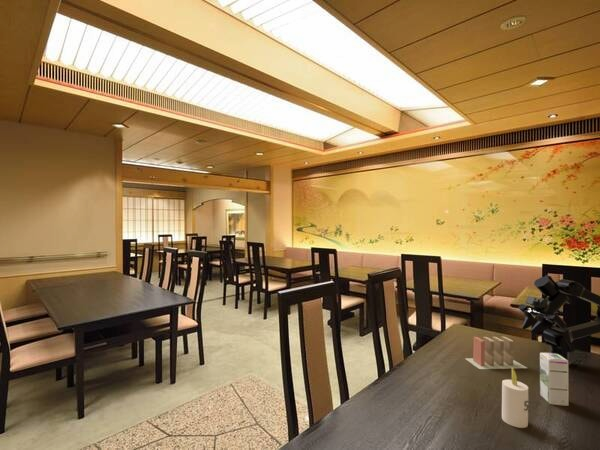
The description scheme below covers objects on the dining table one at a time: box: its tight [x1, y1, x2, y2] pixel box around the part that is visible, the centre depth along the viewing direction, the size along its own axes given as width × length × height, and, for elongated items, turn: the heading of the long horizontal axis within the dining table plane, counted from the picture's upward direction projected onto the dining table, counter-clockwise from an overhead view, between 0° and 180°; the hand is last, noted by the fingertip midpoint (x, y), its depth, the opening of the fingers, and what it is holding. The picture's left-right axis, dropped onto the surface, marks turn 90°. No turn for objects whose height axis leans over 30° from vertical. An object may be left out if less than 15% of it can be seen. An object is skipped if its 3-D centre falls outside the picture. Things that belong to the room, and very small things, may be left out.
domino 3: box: [491, 336, 504, 366], centre depth 131 cm, size 2×5×10 cm, turn 4°
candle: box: [501, 368, 530, 429], centre depth 93 cm, size 6×6×15 cm
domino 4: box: [500, 336, 514, 366], centre depth 132 cm, size 2×5×10 cm, turn 4°
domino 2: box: [482, 336, 494, 366], centre depth 131 cm, size 2×5×10 cm, turn 4°
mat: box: [464, 357, 528, 370], centre depth 131 cm, size 20×10×1 cm, turn 94°
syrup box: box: [539, 352, 569, 407], centre depth 104 cm, size 6×6×14 cm
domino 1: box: [472, 336, 485, 366], centre depth 131 cm, size 2×5×10 cm, turn 4°
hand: (527, 330), depth 132 cm, fingers open, 4 cm apart
